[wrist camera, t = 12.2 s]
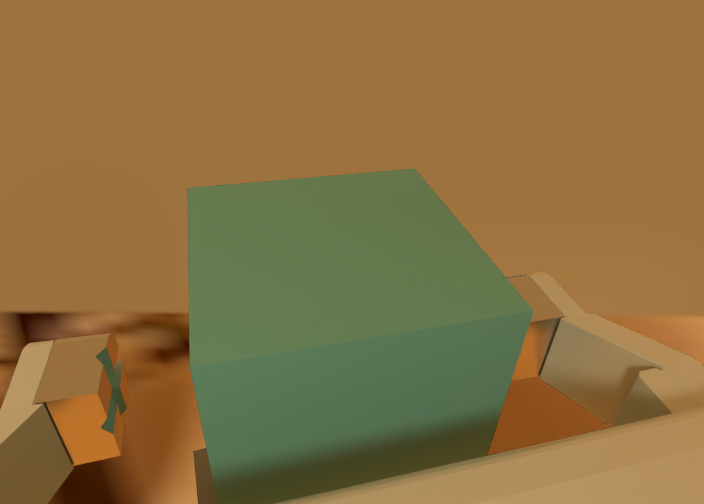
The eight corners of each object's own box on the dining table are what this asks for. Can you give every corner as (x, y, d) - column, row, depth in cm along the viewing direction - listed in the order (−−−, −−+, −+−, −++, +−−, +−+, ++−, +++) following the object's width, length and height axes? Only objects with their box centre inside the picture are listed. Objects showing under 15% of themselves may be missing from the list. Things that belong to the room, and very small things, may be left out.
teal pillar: (441, 597, 13) (533, 310, 8) (249, 655, 12) (190, 367, 7) (382, 437, 17) (415, 168, 12) (233, 469, 16) (187, 188, 10)
